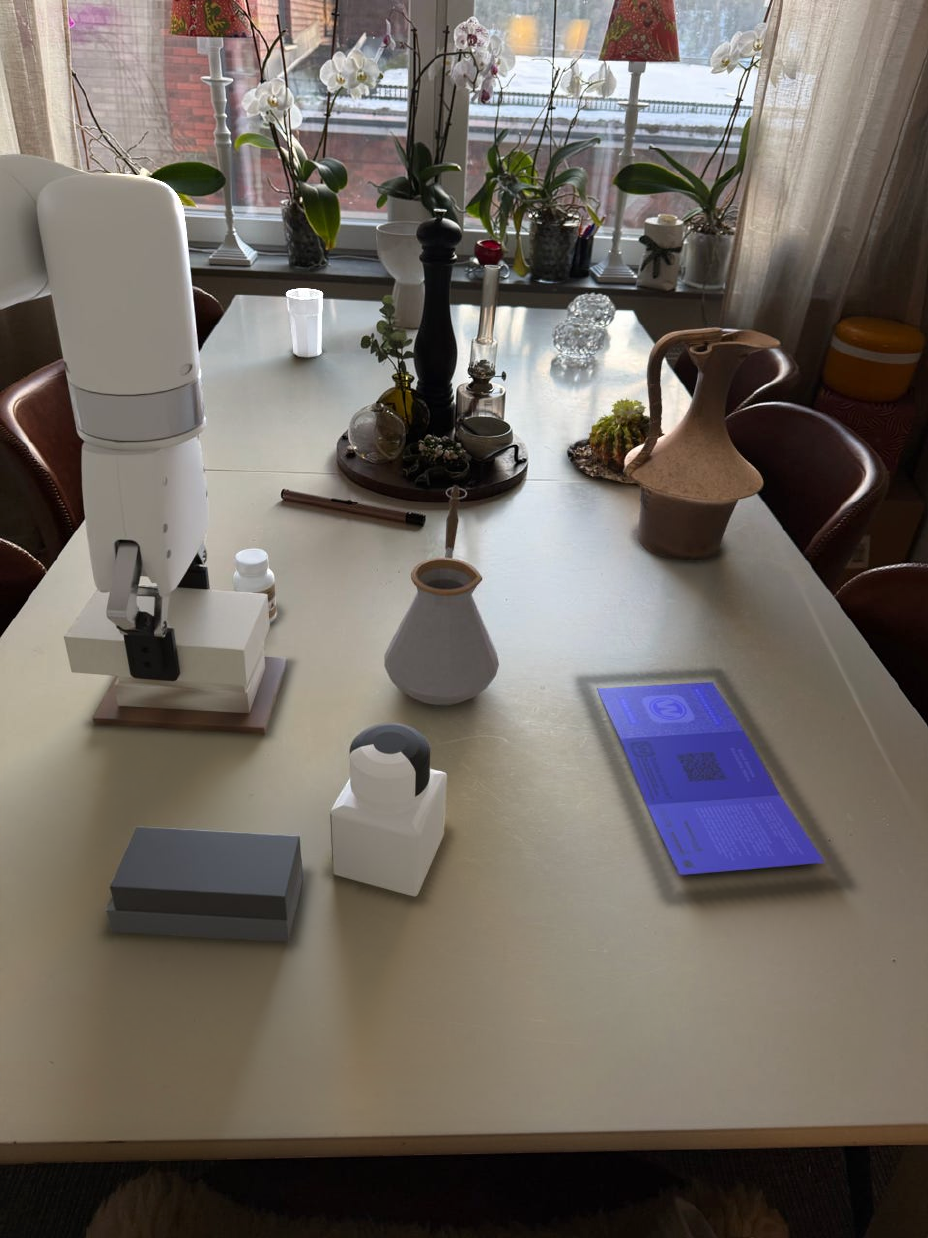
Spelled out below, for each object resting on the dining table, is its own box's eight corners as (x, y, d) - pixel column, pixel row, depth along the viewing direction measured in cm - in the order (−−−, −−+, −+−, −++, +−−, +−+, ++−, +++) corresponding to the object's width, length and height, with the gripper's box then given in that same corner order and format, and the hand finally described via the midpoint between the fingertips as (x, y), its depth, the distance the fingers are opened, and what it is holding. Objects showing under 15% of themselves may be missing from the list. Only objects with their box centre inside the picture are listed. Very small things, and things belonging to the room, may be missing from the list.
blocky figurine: (365, 813, 80) (363, 703, 73) (445, 834, 78) (450, 723, 71) (331, 876, 74) (326, 762, 67) (417, 899, 72) (420, 786, 66)
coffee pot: (495, 723, 90) (506, 591, 82) (376, 714, 90) (375, 582, 82) (501, 604, 108) (510, 485, 100) (402, 597, 108) (403, 478, 100)
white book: (71, 672, 64) (63, 636, 62) (108, 615, 69) (102, 581, 68) (247, 686, 63) (243, 650, 62) (270, 628, 69) (267, 593, 68)
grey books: (111, 933, 68) (100, 887, 66) (138, 869, 73) (128, 824, 71) (288, 943, 68) (284, 898, 66) (303, 879, 73) (300, 834, 71)
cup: (309, 360, 174) (306, 300, 168) (282, 353, 177) (278, 293, 171) (332, 352, 179) (330, 293, 173) (305, 344, 182) (302, 286, 176)
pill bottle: (265, 631, 101) (259, 570, 97) (229, 623, 102) (222, 561, 98) (284, 611, 105) (280, 550, 100) (249, 602, 106) (243, 542, 101)
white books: (93, 726, 87) (82, 674, 84) (132, 656, 96) (123, 607, 93) (265, 736, 87) (260, 685, 84) (287, 665, 96) (283, 617, 93)
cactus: (549, 444, 147) (555, 384, 141) (640, 436, 151) (649, 378, 146) (595, 492, 133) (604, 428, 128) (693, 482, 138) (706, 419, 132)
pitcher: (636, 580, 114) (675, 352, 98) (592, 515, 128) (620, 306, 112) (768, 570, 117) (826, 348, 102) (711, 508, 131) (755, 304, 115)
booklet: (712, 682, 97) (713, 676, 97) (822, 868, 77) (825, 862, 76) (596, 688, 95) (597, 683, 95) (678, 881, 75) (679, 875, 74)
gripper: (127, 352, 63) (160, 576, 73) (11, 458, 49) (72, 719, 59) (237, 360, 63) (255, 583, 73) (154, 468, 49) (190, 728, 59)
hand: (173, 642), depth 66 cm, fingers closed on white book, 7 cm apart
